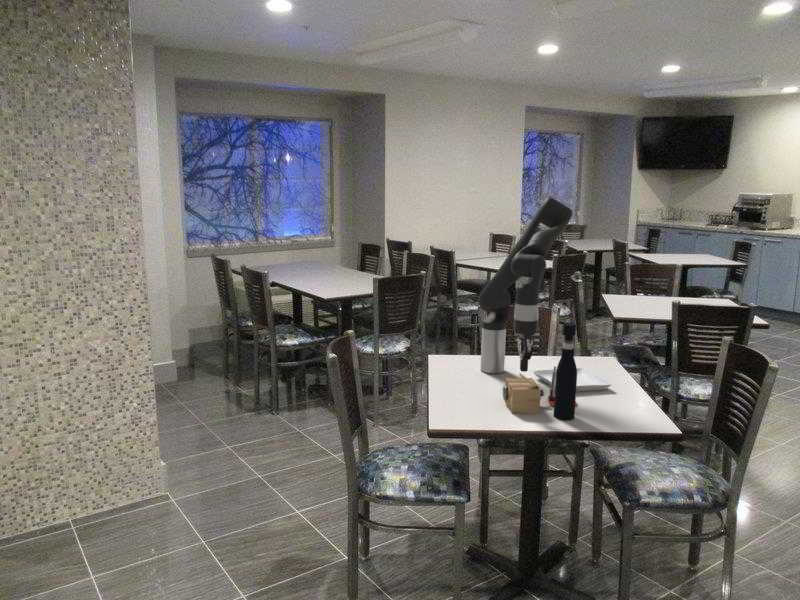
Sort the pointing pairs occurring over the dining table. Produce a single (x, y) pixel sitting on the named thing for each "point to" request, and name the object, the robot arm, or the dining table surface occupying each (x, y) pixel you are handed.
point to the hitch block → (522, 396)
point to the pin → (505, 392)
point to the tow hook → (552, 390)
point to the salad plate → (578, 380)
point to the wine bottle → (566, 377)
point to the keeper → (527, 379)
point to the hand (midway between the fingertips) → (523, 370)
